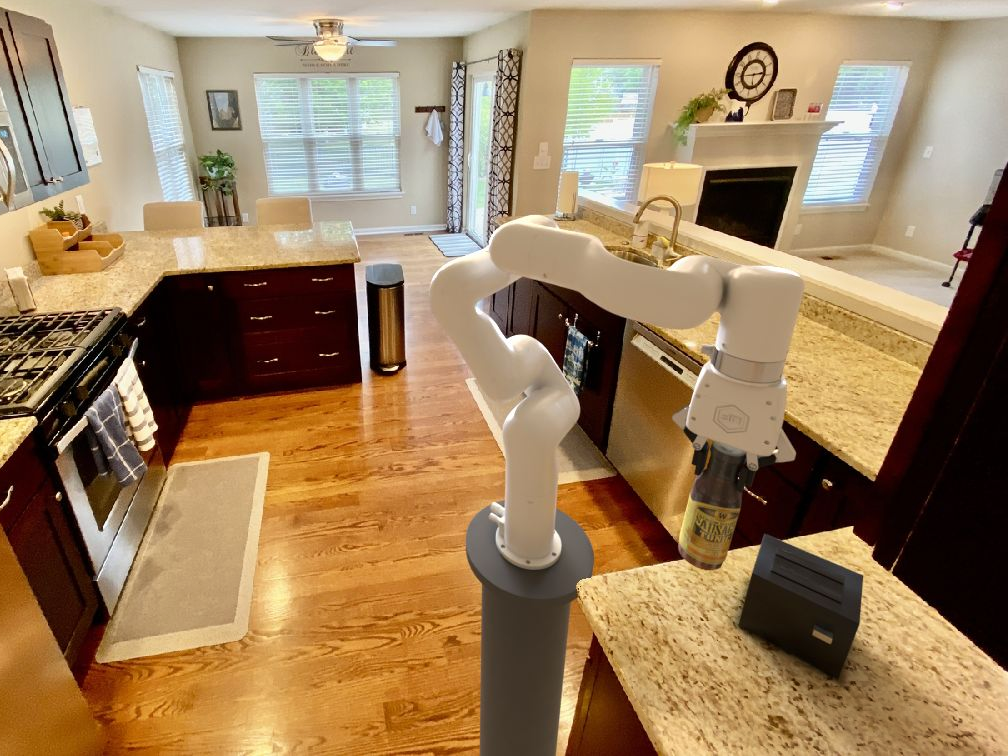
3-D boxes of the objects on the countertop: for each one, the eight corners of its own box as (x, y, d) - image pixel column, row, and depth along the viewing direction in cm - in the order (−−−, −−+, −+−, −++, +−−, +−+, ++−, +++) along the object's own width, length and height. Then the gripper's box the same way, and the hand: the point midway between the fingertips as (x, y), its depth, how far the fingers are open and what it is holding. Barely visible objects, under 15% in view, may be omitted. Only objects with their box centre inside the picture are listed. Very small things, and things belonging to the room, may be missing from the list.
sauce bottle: (683, 569, 71) (706, 457, 65) (672, 537, 77) (691, 431, 70) (733, 577, 70) (761, 463, 63) (718, 543, 76) (742, 435, 69)
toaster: (736, 631, 75) (750, 577, 71) (751, 583, 82) (764, 532, 79) (837, 687, 67) (859, 629, 63) (843, 628, 75) (863, 574, 71)
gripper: (666, 354, 65) (648, 466, 71) (829, 396, 54) (790, 524, 60) (683, 336, 70) (664, 442, 76) (835, 372, 59) (798, 492, 65)
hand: (720, 477), depth 68 cm, fingers closed on sauce bottle, 4 cm apart
